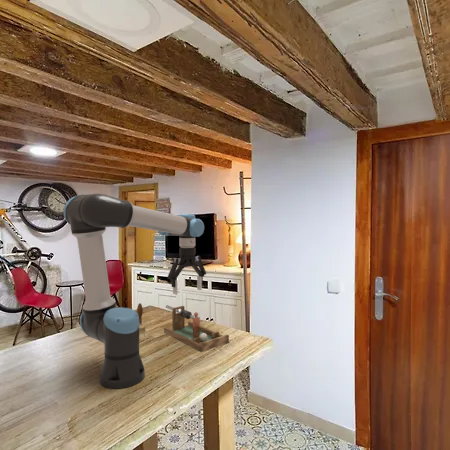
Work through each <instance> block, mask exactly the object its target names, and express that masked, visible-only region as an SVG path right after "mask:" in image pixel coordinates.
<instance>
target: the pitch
mask: <svg viewBox="0 0 450 450" xmlns="http://www.w3.org/2000/svg"><path fill="white" fill-rule="evenodd" d="M177 309H178V310H181V311H182V310H185V306H184V305H180V306H176V307H173V308H172V310H171V311H172V313H171V315H172V316H171V319H172V323H171V324H172V328H171V329H170V328H168V327H163V333H164V334H167V335H169V336H170V337H172V338H174V339H176V340H178V341H180V342H182V343H184V344H186V345H187V346H190V347H191V348H193V349H195V350H197V351H199V352H205V351H207V350H211V349H213V348H216V347H220V346H223V345H225V344H228V343H230V335H229V334H224V335H223V334H221V333H220V332H219V331H213V330H212V329H209V328H206V327H204V326H202V325H200V335H201V334H202V333H205V334H207V340H206V341H201V340H200V336H199V337H196V338H193V321H188V322H187V324H188V325H186V326H185V324H186V323H185V321H186V320H185V319H186V318H184V317H182V316H181V314H180V313H178V312H176V310H177Z"/></svg>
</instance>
